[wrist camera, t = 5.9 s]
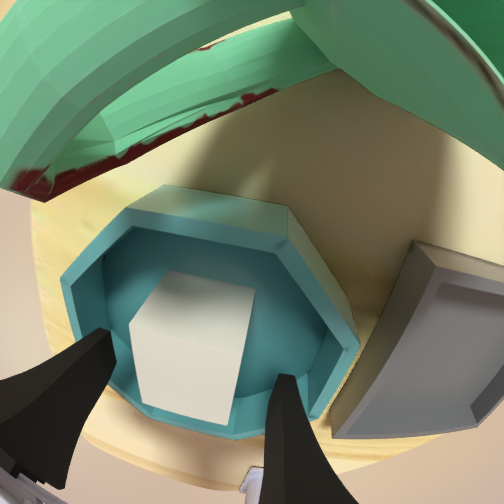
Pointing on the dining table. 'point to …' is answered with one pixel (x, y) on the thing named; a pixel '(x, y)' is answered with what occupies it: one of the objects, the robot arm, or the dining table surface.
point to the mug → (226, 73)
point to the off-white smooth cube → (191, 345)
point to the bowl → (226, 270)
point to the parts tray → (429, 352)
